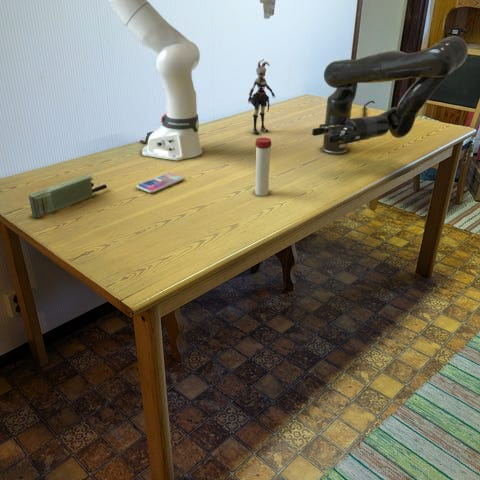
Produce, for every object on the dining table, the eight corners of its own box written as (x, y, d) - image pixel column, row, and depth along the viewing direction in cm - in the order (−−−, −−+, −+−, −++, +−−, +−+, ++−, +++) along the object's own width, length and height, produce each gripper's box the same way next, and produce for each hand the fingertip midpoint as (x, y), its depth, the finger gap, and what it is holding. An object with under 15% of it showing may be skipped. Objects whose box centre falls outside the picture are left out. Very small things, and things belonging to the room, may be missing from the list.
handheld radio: (30, 215, 144) (102, 188, 161) (37, 219, 142) (109, 191, 159) (26, 193, 140) (100, 168, 157) (33, 197, 138) (107, 171, 155)
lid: (270, 148, 149) (271, 142, 149) (255, 148, 150) (255, 141, 149) (271, 143, 153) (271, 137, 153) (256, 143, 154) (256, 137, 153)
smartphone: (184, 177, 167) (150, 191, 157) (184, 180, 167) (151, 194, 157) (168, 171, 171) (134, 185, 161) (168, 174, 171) (135, 188, 161)
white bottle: (267, 196, 157) (270, 143, 149) (254, 195, 158) (256, 143, 149) (268, 190, 161) (270, 139, 153) (255, 190, 161) (257, 138, 153)
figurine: (251, 137, 208) (253, 60, 193) (241, 133, 211) (242, 58, 197) (276, 130, 216) (279, 56, 202) (266, 126, 220) (268, 54, 205)
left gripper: (265, -33, 165) (264, 13, 172) (255, -32, 148) (254, 20, 155) (284, -33, 164) (282, 14, 171) (276, -31, 147) (274, 20, 154)
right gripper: (347, 112, 171) (308, 118, 164) (376, 123, 160) (336, 130, 153) (345, 134, 175) (306, 141, 168) (373, 146, 164) (333, 153, 157)
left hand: (268, 16), depth 163 cm, fingers open, 8 cm apart
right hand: (320, 136), depth 161 cm, fingers open, 8 cm apart
